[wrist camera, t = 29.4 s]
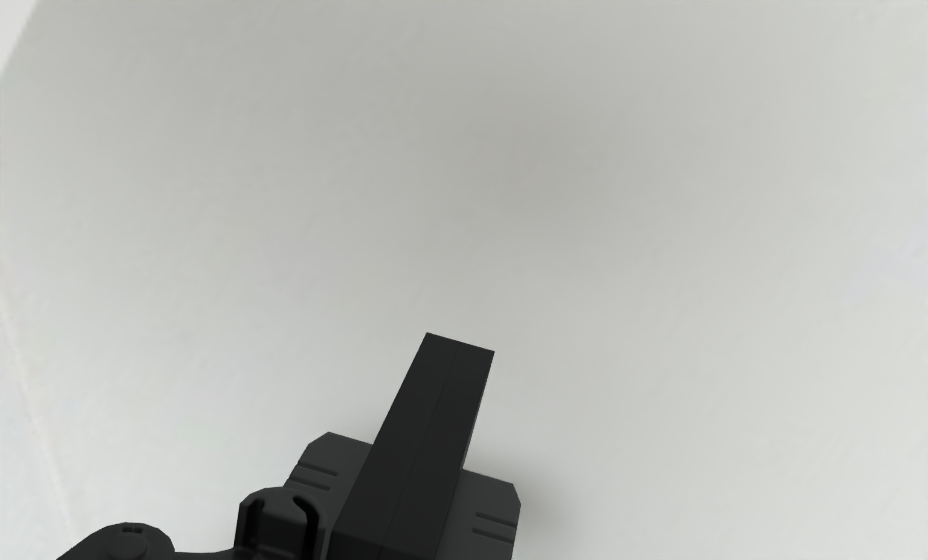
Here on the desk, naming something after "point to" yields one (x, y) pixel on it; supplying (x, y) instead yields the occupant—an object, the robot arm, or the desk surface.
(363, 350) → the desk surface
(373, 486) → the robot arm
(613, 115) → the desk surface
